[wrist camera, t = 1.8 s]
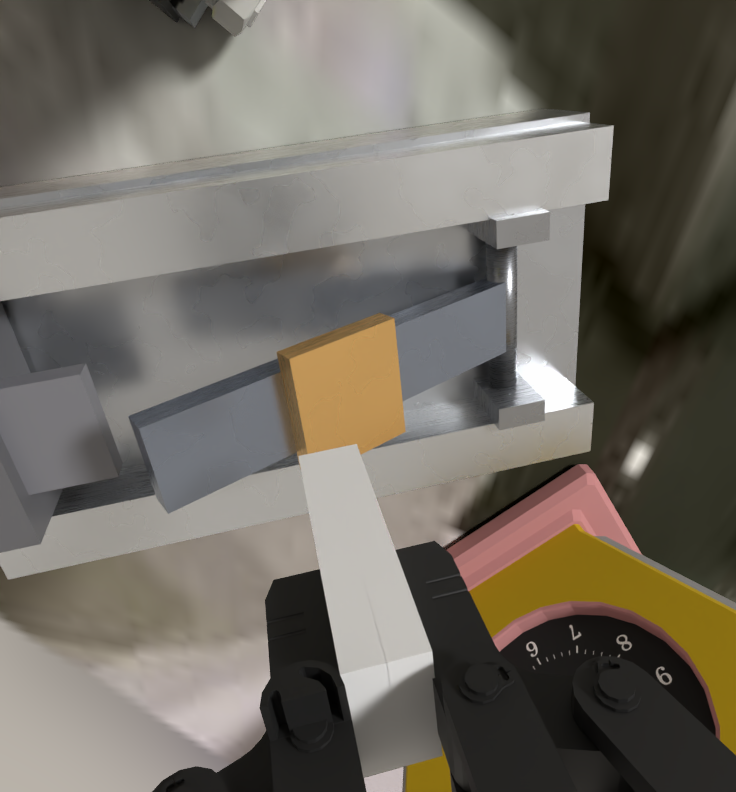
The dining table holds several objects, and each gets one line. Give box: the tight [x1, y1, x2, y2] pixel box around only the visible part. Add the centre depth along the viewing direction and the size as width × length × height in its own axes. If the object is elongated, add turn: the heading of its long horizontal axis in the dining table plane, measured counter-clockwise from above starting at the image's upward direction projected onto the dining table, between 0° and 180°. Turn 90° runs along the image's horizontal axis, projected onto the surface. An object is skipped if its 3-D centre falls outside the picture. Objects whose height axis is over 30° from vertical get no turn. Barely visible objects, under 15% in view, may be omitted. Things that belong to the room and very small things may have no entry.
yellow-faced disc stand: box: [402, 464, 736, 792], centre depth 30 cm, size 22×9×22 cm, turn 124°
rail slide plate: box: [0, 109, 614, 580], centre depth 25 cm, size 14×26×7 cm, turn 97°
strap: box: [128, 243, 517, 514], centre depth 21 cm, size 6×16×2 cm, turn 97°
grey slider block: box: [0, 304, 123, 553], centre depth 21 cm, size 7×6×5 cm
